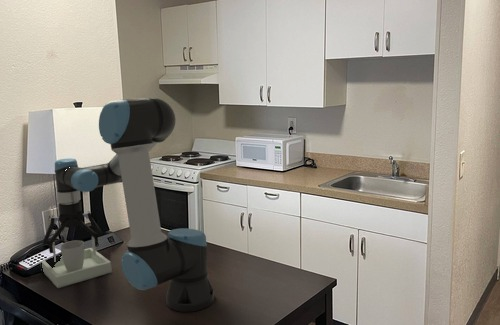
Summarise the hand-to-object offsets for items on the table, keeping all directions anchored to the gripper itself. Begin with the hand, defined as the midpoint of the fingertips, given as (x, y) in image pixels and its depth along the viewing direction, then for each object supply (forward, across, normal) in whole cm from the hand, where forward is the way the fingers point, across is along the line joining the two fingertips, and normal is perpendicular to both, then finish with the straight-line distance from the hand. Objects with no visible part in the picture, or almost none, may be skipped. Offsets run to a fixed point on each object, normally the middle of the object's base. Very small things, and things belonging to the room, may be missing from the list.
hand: (75, 257), depth 168 cm
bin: (+6, 0, 0) cm, 6 cm away
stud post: (+6, -19, +4) cm, 20 cm away
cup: (+5, +1, 0) cm, 5 cm away
